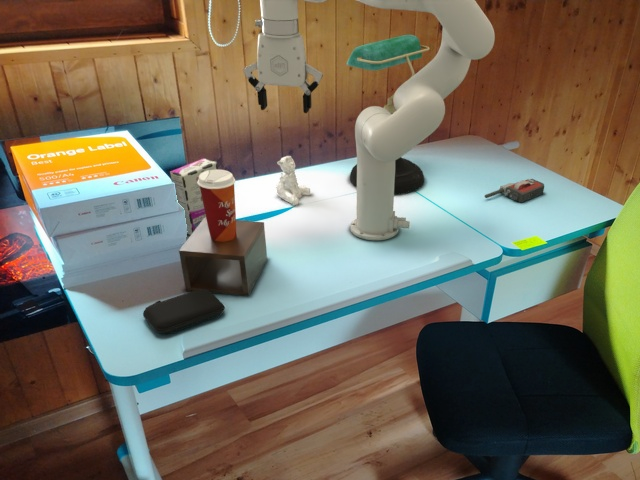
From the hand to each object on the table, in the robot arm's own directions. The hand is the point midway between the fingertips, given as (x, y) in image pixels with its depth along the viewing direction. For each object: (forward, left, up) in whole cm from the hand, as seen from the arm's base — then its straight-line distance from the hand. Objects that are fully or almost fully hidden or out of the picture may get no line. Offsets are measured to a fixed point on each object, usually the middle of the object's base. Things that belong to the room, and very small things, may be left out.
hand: (285, 109), depth 140 cm
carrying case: (+14, +37, -32) cm, 52 cm away
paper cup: (+10, +20, -22) cm, 32 cm away
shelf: (+11, +20, -32) cm, 39 cm away
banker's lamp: (-20, -42, -32) cm, 57 cm away
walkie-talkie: (-59, -37, -32) cm, 77 cm away
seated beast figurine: (+6, -24, -32) cm, 41 cm away
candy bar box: (+24, -2, -32) cm, 40 cm away
